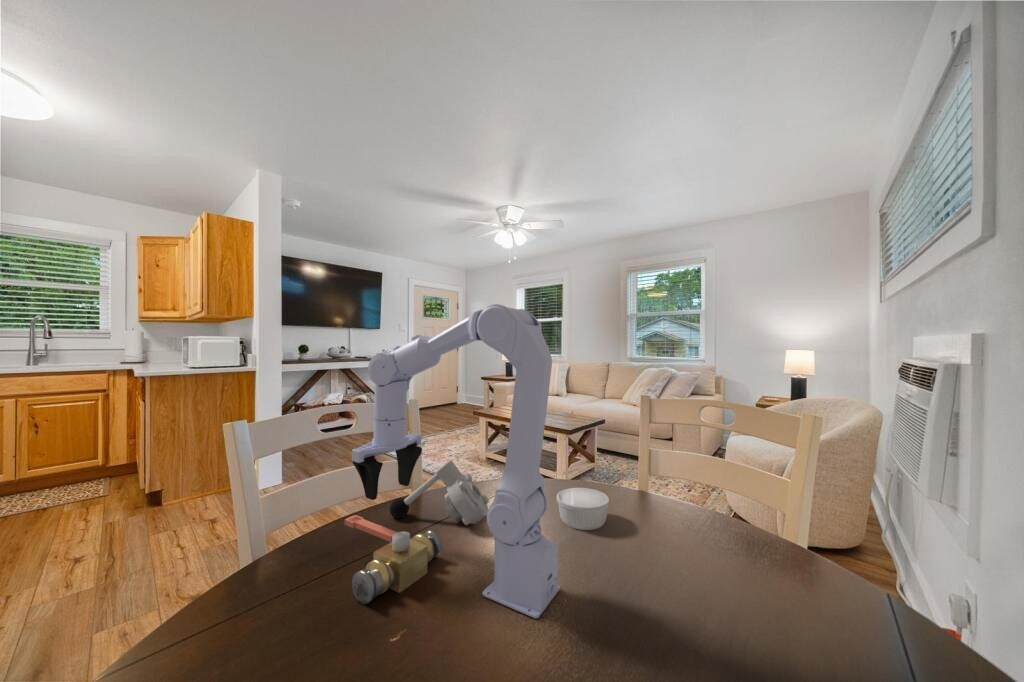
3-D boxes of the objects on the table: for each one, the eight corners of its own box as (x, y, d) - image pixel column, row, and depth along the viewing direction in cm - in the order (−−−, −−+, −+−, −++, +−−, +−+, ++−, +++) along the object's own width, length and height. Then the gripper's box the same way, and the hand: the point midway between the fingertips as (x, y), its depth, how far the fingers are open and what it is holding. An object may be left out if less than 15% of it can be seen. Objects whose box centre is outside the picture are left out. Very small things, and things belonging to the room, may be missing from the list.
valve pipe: (420, 550, 70) (420, 524, 70) (445, 560, 67) (445, 532, 67) (348, 595, 57) (348, 563, 57) (374, 610, 54) (375, 576, 54)
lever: (413, 545, 62) (413, 534, 62) (400, 553, 60) (400, 541, 60) (356, 522, 70) (356, 513, 70) (342, 529, 68) (343, 519, 68)
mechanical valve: (487, 519, 77) (442, 459, 78) (420, 575, 77) (376, 514, 78) (494, 502, 87) (454, 449, 89) (434, 551, 87) (395, 498, 89)
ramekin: (547, 514, 85) (547, 491, 85) (588, 506, 90) (588, 484, 90) (575, 538, 75) (576, 511, 75) (620, 527, 80) (620, 502, 80)
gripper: (404, 409, 79) (402, 475, 79) (341, 421, 66) (339, 499, 66) (430, 414, 75) (428, 482, 75) (368, 427, 62) (365, 509, 62)
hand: (388, 491), depth 70 cm, fingers open, 7 cm apart
